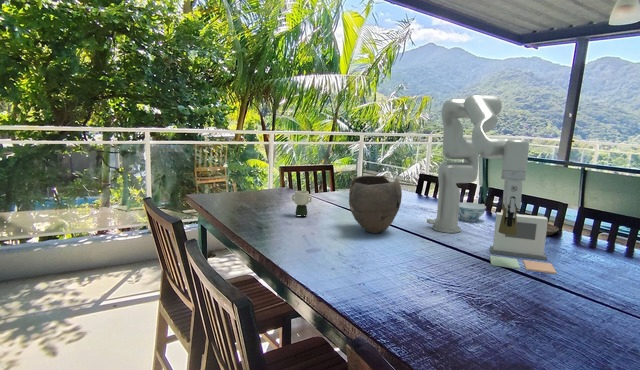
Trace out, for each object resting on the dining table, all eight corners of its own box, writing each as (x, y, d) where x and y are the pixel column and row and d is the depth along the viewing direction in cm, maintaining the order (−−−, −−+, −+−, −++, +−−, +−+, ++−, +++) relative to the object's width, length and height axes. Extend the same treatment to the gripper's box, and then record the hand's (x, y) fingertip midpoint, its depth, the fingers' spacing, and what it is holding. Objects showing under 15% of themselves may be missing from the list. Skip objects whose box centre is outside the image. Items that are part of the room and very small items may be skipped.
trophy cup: (313, 216, 199) (314, 191, 197) (308, 219, 193) (309, 193, 191) (294, 213, 203) (295, 189, 201) (288, 216, 197) (289, 191, 194)
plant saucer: (540, 225, 192) (541, 219, 192) (568, 238, 172) (569, 230, 171) (500, 225, 191) (500, 218, 191) (523, 237, 171) (523, 230, 171)
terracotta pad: (526, 270, 131) (526, 268, 131) (522, 261, 140) (522, 259, 140) (556, 274, 128) (556, 272, 128) (550, 265, 137) (551, 263, 137)
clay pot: (404, 229, 179) (408, 176, 175) (391, 243, 157) (395, 183, 153) (356, 222, 189) (358, 172, 185) (337, 234, 167) (339, 178, 163)
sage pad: (491, 265, 135) (491, 263, 135) (489, 257, 144) (490, 255, 143) (519, 269, 132) (519, 267, 132) (516, 260, 140) (516, 259, 140)
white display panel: (490, 253, 148) (494, 214, 146) (489, 248, 154) (493, 211, 151) (546, 260, 141) (551, 220, 139) (543, 255, 147) (548, 216, 145)
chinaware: (452, 221, 196) (454, 206, 194) (454, 215, 209) (455, 201, 208) (484, 225, 190) (486, 209, 189) (484, 218, 204) (485, 204, 202)
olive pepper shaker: (519, 235, 132) (522, 204, 130) (500, 234, 133) (503, 203, 132) (514, 230, 138) (517, 200, 136) (496, 229, 139) (499, 199, 137)
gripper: (529, 179, 124) (523, 234, 127) (522, 173, 139) (517, 222, 142) (503, 177, 126) (498, 231, 129) (499, 172, 142) (494, 220, 145)
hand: (508, 226), depth 136 cm, fingers closed on olive pepper shaker, 3 cm apart
